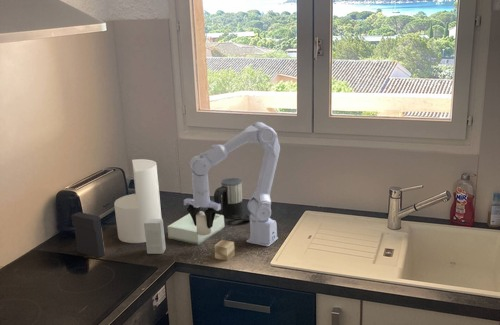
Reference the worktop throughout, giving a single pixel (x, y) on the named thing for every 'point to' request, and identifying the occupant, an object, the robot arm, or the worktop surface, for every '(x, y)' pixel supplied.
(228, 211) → the milk frother
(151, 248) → the skincare box
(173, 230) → the tote
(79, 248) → the calculator
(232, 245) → the beech block
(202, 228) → the ivory cylinder
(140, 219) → the white stepped cylinder
